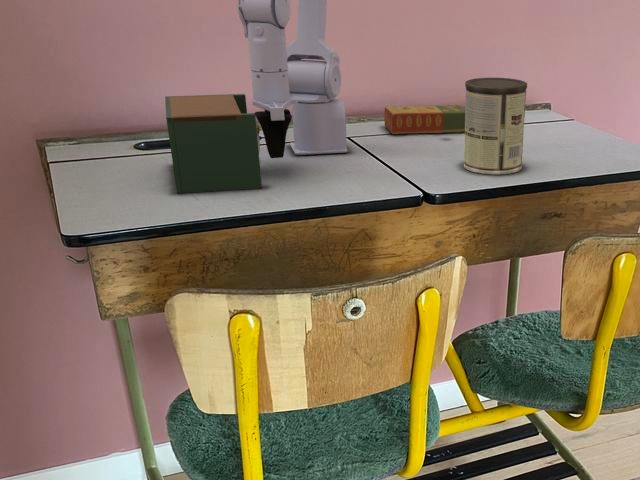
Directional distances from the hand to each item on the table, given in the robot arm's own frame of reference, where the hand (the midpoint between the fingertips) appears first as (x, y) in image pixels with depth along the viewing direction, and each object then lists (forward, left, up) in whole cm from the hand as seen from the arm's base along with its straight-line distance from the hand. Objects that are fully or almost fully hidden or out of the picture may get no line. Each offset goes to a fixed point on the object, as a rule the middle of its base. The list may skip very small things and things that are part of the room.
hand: (276, 157), depth 135 cm
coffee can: (-37, +4, -3) cm, 37 cm away
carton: (-34, -27, -3) cm, 43 cm away
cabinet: (+9, 0, -3) cm, 10 cm away
